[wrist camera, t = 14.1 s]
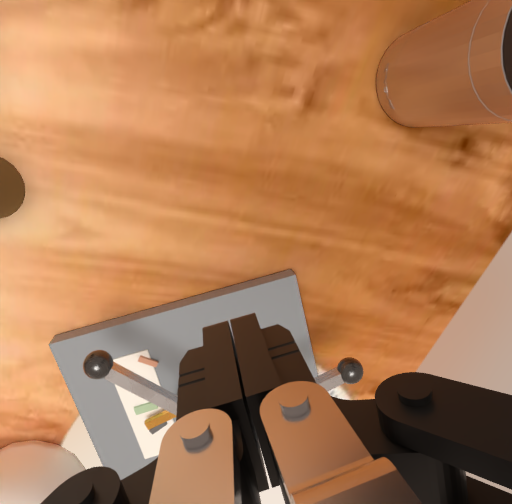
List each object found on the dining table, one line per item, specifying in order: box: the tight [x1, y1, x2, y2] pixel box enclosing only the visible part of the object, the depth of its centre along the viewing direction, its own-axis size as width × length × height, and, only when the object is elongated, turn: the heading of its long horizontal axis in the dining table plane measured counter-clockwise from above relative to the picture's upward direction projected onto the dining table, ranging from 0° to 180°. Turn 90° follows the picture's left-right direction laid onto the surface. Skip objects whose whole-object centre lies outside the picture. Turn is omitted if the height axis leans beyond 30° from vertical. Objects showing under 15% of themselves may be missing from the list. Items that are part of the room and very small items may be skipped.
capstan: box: [83, 350, 363, 430], centre depth 40 cm, size 23×25×8 cm
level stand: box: [49, 269, 318, 480], centre depth 45 cm, size 26×20×2 cm
